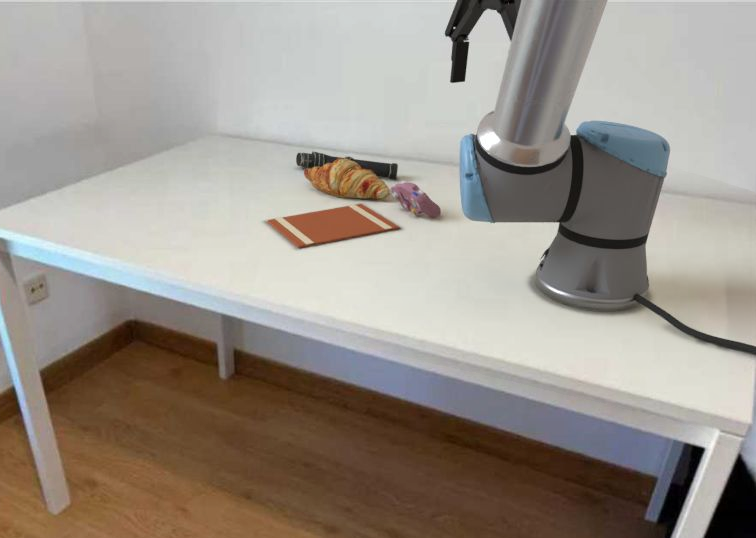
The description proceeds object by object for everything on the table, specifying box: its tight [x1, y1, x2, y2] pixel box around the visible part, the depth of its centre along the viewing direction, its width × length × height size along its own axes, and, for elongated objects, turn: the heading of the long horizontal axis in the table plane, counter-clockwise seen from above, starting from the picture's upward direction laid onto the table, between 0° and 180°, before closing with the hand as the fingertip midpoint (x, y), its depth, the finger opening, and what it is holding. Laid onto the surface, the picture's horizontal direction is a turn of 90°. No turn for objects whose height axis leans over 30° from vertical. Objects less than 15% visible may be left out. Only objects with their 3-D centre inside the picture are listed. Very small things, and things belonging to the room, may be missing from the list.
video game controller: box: [390, 180, 442, 219], centre depth 129 cm, size 10×5×7 cm, turn 25°
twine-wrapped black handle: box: [295, 150, 399, 180], centre depth 152 cm, size 4×5×25 cm
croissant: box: [303, 157, 391, 200], centre depth 140 cm, size 21×10×8 cm, turn 51°
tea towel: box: [267, 203, 400, 249], centre depth 126 cm, size 14×20×1 cm
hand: (482, 87), depth 117 cm, fingers open, 13 cm apart
